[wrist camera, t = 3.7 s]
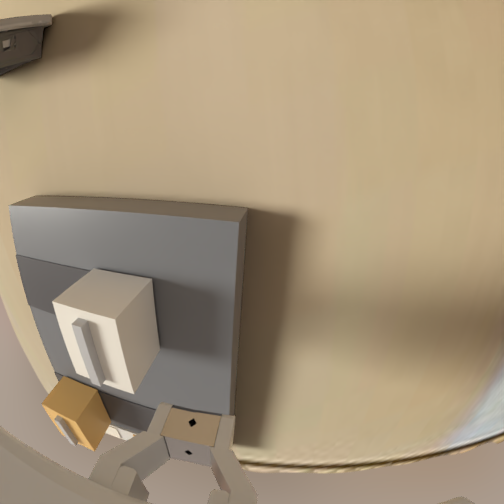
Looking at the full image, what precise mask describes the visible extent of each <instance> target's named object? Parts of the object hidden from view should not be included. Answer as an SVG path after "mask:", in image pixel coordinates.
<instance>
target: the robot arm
mask: <svg viewBox="0 0 504 504" xmlns="http://www.w3.org/2000/svg"><path fill="white" fill-rule="evenodd" d="M234 428H235V416H231V415H224V414H220V413H213V412H207V411H201V410H194V409H190V408H185V407H181V406H177V405H173V404H169V403H165V402H161V403H160V404H159V405H158V407H157V410H156V412H155V414H154V416H153V419H152V421H151V423H150V426H149V428H148V430H147V432H146V431H142V432H141V433H139V434H137V435H136V436H134V437H132V438H131V439H129V440H127V441H125V442H124V443H122V444H120V445H118V446H117V447H115V448H113V449H111V450H109V451H107V452H106V453H104V454H102V455H100V457H99V459H98V461H97V463H96V465H95V467H94V469H93V471H92V473H91V475H90V477H89V479H87V478H84V477H83V476H80V475H78V474H76V473H74V472H72V471H71V470H69V469H67V468H65V467H63V466H61V465H59V464H57V463H56V462H54V461H52V460H50V459H49V458H47V457H45V456H43V455H42V454H40V453H39V452H37V451H36V450H34V449H32V448H31V447H29V446H28V445H26V444H25V443H23V442H22V441H20V440H19V439H17V438H16V437H15V436H13V435H12V434H10V433H9V432H8V431H6V430H5V429H4V428H2V427H1V426H0V504H152V503H148V502H147V498H148V495H149V492H148V491H147V489H146V487H145V486H144V484H143V482H142V480H144V479H145V478H146V477H148V476H149V475H150V474H152V473H153V472H154V471H156V470H157V469H158V468H159V467H160V466H162V465H163V464H165V463H166V462H167V461H168V460H170V458H173V459H177V460H182V461H186V462H191V463H196V464H200V465H205V466H210V467H211V469H212V471H213V474H214V475H215V478H216V480H217V482H218V485H219V487H220V489H221V490H216V489H214V490H212V491H211V492H210V496H209V500H208V504H256V503H257V493H256V491H255V489H254V488H253V486H252V484H251V482H250V481H249V479H248V477H247V476H246V474H245V472H244V470H243V469H242V467H241V465H240V463H239V461H238V460H237V458H236V456H235V454H234V452H233V450H232V445H233V437H234ZM439 504H475V503H473V502H472V501H470V500H469V499H467V498H465V497H457V498H454V499H451V500H448V501H445V502H442V503H439Z"/></svg>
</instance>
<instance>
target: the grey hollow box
mask: <svg viewBox="0 0 504 504" xmlns="http://www.w3.org/2000/svg"><path fill="white" fill-rule="evenodd" d="M50 25H52V15H51V14H48V15H31V16H21V17H13V18H6V19H0V75H2V74H4V73H6V72H8V71H10V70H12V69H14V68H16V67H19V66H21V65H23V64H26V63H28V62H30V61H33V60H35V59H38V58H41V45H42V40H43V29H44V28H45V27H48V26H50ZM6 68H7V69H6Z"/></svg>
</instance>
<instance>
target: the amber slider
mask: <svg viewBox="0 0 504 504" xmlns="http://www.w3.org/2000/svg"><path fill="white" fill-rule="evenodd" d="M42 405H43V407H44V408H45V410H46V412H47V413H48V414H49V416H50V418H51V419H52V421H53V422H54V424H55V425H56V427H57V428H58V430H59V431H60V433H61V434H62V435H63V436H65V437H66V438H67V439H68V441H69V442H70V443H71V444H72V445H74V446H76V445H77V443H78V444H81V445H83V446H85V447H87V448H89V449H91V450H93V451H95V450H96V448H97V447H98V445H99V443H100V441H101V439H102V438H103V436H104V434H105V432H106V431H107V429H108V427H109V425H110V424H111V420H110V418H109V415H108V413H107V411H106V409H105V407H104V404H103V402H102V400H101V397H100V395H99V393H98V390H96V389H94V388H91V387H89V386H86V385H84V384H81V383H79V382H77V381H74V380H72V379H70V378H68V377H65V376H63V377H62V379H61V380H60V381H59V382H58V384H57V385H56V386H55V387H54V389H53V390H52V391H51V392H50V394H49V395H48V396H47V397H46V399H45V400H44V401H43V403H42Z"/></svg>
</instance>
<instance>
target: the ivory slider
mask: <svg viewBox="0 0 504 504" xmlns="http://www.w3.org/2000/svg"><path fill="white" fill-rule="evenodd" d="M52 303H53V306H54V310H55V313H56V317H57V320H58V323H59V326H60V329H61V332H62V336H63V338H64V341H65V344H66V347H67V350H68V353H69V355H70V358H71V360H72V363H73V366H74V368H75V371H76V373H77V374H79V375H82V376H84V377H87V378H89V379H90V380H91V382H92V384H95V385H98V386H100V387H101V386H102V384H105V385H108V386H111V387H114V388H117V389H120V390H123V391H126V392H129V393H132V394H135V392H136V390H137V389H138V387H139V385H140V383H141V382H142V380H143V378H144V376H145V375H146V373H147V371H148V370H149V368H150V366H151V364H152V363H153V361H154V359H155V358H156V356H157V354H158V352H159V351H160V345H159V337H158V330H157V322H156V313H155V304H154V295H153V284H152V279H150V278H144V277H138V276H133V275H127V274H121V273H116V272H110V271H105V270H99V269H92V270H91V271H90V272H88V273H87V274H86V275H85V276H83V277H82V278H81V279H79V280H78V281H77V282H76V283H74V284H73V285H72V286H70V287H69V288H68V289H67V290H65V291H64V292H63V293H62V294H60V295H59V296H58V297H57V298H55V299H54V300H53V301H52Z"/></svg>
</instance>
